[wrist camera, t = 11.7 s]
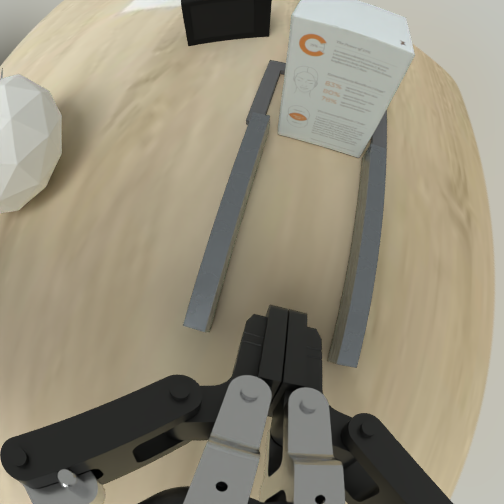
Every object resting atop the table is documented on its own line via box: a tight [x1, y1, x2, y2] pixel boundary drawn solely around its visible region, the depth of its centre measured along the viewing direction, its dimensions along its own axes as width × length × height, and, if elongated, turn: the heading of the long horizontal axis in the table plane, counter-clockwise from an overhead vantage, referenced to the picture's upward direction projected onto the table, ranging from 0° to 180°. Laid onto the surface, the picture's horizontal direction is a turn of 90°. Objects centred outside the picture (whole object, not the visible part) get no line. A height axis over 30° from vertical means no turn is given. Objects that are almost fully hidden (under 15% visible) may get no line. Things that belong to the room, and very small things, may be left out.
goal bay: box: [246, 60, 387, 149], centre depth 27 cm, size 14×10×1 cm
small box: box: [278, 0, 415, 158], centre depth 20 cm, size 8×6×13 cm
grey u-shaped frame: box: [183, 112, 387, 368], centre depth 22 cm, size 12×18×2 cm, turn 165°
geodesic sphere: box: [0, 68, 62, 213], centre depth 19 cm, size 14×14×14 cm
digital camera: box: [181, 0, 272, 46], centre depth 28 cm, size 10×5×7 cm, turn 101°
